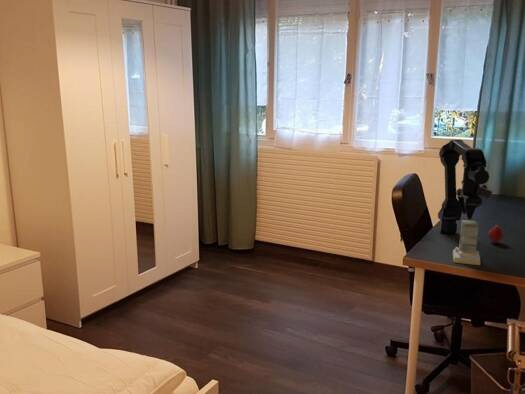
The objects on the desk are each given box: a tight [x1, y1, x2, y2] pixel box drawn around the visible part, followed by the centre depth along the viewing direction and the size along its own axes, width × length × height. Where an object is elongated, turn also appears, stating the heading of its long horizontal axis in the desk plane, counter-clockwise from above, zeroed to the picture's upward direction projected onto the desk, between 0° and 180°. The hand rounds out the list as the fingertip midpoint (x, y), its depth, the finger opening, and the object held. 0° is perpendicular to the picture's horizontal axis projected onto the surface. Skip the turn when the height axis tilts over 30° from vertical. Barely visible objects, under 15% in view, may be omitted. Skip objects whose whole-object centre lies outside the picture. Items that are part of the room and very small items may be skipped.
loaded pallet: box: [454, 219, 480, 258], centre depth 189 cm, size 7×7×13 cm
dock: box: [452, 248, 481, 266], centre depth 191 cm, size 9×10×2 cm
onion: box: [488, 224, 504, 244], centre depth 209 cm, size 6×6×8 cm
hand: (466, 216), depth 203 cm, fingers open, 9 cm apart
